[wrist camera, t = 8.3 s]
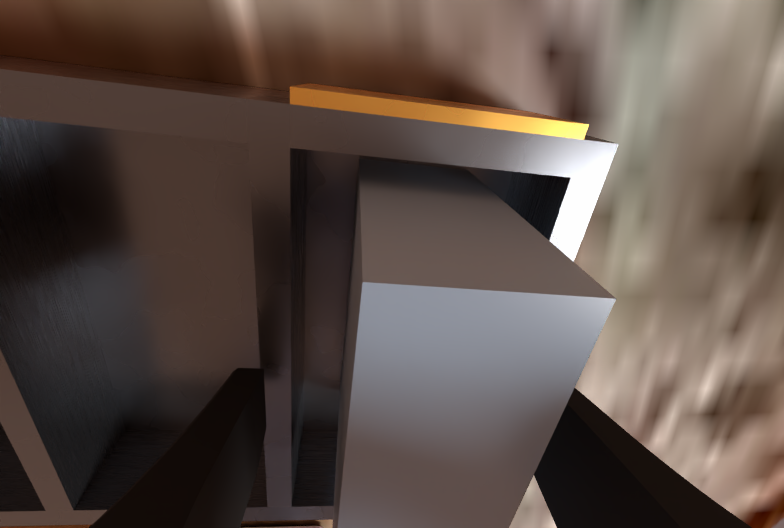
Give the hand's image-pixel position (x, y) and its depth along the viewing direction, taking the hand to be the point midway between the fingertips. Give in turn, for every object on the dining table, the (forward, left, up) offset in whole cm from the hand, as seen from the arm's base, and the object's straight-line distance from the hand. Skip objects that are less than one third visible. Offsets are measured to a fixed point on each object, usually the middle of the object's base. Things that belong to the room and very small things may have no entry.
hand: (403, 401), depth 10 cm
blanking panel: (+1, 0, -4) cm, 4 cm away
